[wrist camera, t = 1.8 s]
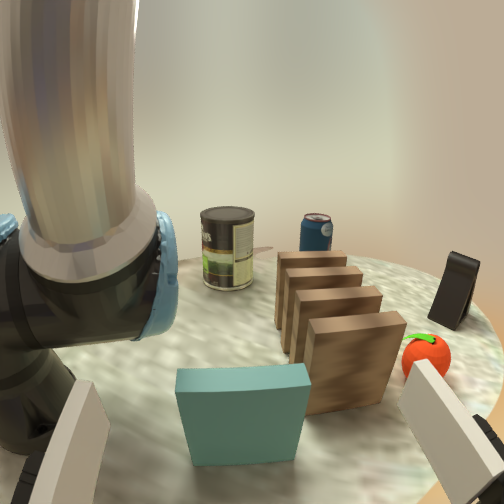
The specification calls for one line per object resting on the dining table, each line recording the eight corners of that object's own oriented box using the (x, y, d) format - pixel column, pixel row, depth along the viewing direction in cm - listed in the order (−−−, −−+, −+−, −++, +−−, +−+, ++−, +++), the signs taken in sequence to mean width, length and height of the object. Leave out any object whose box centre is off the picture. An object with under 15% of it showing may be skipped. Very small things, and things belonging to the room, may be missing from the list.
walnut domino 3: (291, 381, 38) (300, 301, 34) (288, 369, 40) (295, 290, 36) (363, 372, 39) (382, 295, 35) (357, 361, 41) (374, 285, 37)
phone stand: (453, 331, 46) (473, 268, 42) (426, 318, 50) (442, 256, 46) (468, 313, 51) (485, 256, 46) (444, 302, 55) (458, 246, 51)
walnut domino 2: (283, 352, 44) (289, 277, 39) (280, 342, 46) (285, 268, 42) (349, 346, 45) (363, 273, 40) (343, 337, 47) (356, 266, 43)
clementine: (381, 383, 37) (395, 340, 34) (397, 355, 42) (410, 315, 39) (434, 403, 32) (454, 360, 29) (444, 372, 37) (461, 332, 34)
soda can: (334, 273, 69) (339, 220, 64) (305, 276, 67) (309, 221, 63) (320, 261, 75) (324, 212, 71) (293, 264, 73) (296, 213, 69)
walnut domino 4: (301, 416, 33) (315, 333, 28) (297, 401, 35) (308, 319, 30) (379, 402, 33) (407, 323, 29) (372, 389, 36) (396, 310, 31)
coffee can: (207, 294, 60) (203, 221, 54) (200, 271, 69) (197, 207, 64) (259, 288, 62) (261, 217, 57) (246, 267, 71) (246, 204, 66)
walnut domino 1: (276, 329, 49) (280, 258, 45) (274, 320, 52) (277, 252, 47) (336, 324, 50) (347, 256, 46) (332, 316, 52) (341, 250, 48)
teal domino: (193, 465, 26) (174, 391, 21) (193, 446, 28) (177, 368, 23) (294, 459, 27) (311, 384, 22) (289, 441, 29) (304, 362, 24)
